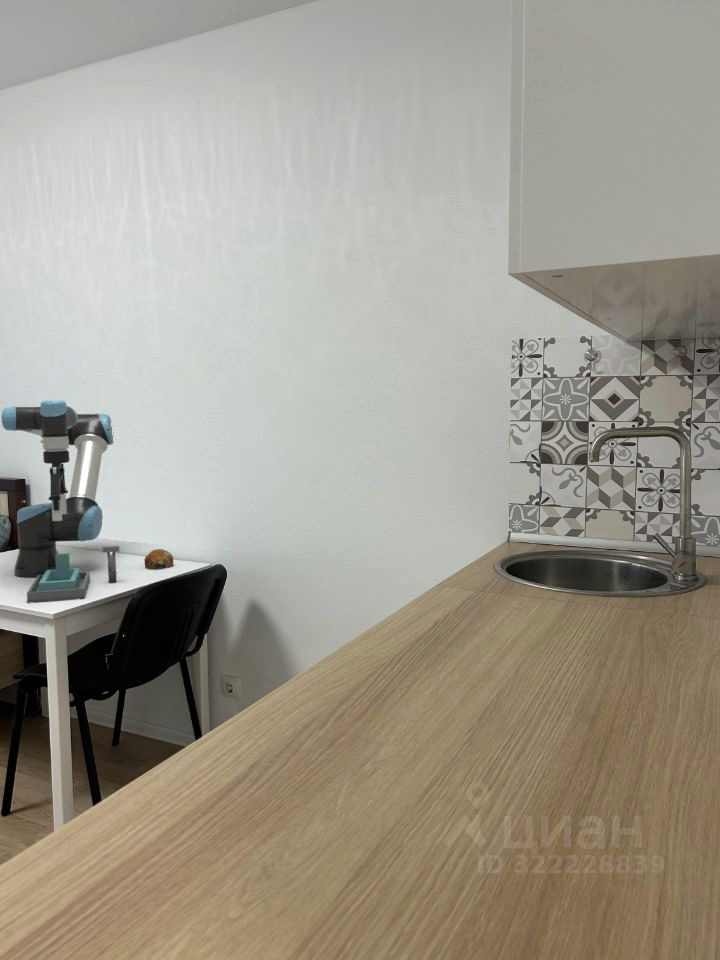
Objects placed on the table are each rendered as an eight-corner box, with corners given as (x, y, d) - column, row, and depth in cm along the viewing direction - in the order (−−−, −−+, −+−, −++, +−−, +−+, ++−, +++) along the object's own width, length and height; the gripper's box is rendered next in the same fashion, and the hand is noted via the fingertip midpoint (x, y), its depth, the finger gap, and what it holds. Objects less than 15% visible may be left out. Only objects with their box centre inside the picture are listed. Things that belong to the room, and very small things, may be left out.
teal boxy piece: (47, 582, 245) (45, 554, 244) (80, 580, 248) (79, 552, 247) (39, 596, 228) (37, 566, 227) (75, 593, 231) (73, 564, 230)
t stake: (104, 581, 249) (102, 546, 247) (120, 580, 250) (119, 545, 249) (104, 583, 246) (102, 548, 245) (120, 582, 248) (119, 547, 246)
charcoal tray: (38, 584, 246) (38, 575, 246) (90, 580, 250) (89, 571, 250) (27, 603, 224) (26, 592, 223) (84, 598, 228) (83, 588, 228)
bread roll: (176, 574, 274) (178, 552, 276) (166, 568, 264) (169, 545, 267) (149, 574, 275) (151, 552, 277) (138, 568, 265) (141, 545, 268)
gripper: (48, 447, 252) (51, 512, 254) (37, 453, 228) (41, 524, 230) (72, 447, 253) (76, 510, 256) (64, 452, 230) (68, 523, 232)
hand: (59, 517), depth 243 cm, fingers open, 13 cm apart
